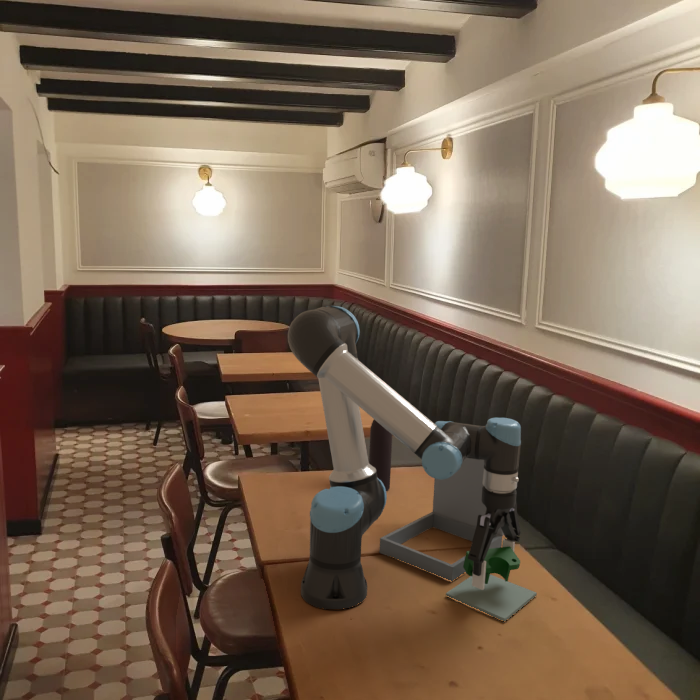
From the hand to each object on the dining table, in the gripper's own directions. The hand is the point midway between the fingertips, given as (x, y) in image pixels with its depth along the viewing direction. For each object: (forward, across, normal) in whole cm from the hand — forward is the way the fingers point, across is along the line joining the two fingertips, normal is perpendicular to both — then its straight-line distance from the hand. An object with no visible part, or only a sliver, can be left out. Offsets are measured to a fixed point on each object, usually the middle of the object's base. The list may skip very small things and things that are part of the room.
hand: (492, 576), depth 157 cm
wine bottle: (+5, +34, +60) cm, 69 cm away
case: (+5, +11, +21) cm, 24 cm away
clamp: (0, 0, 0) cm, 0 cm away
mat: (+5, 0, 0) cm, 5 cm away
